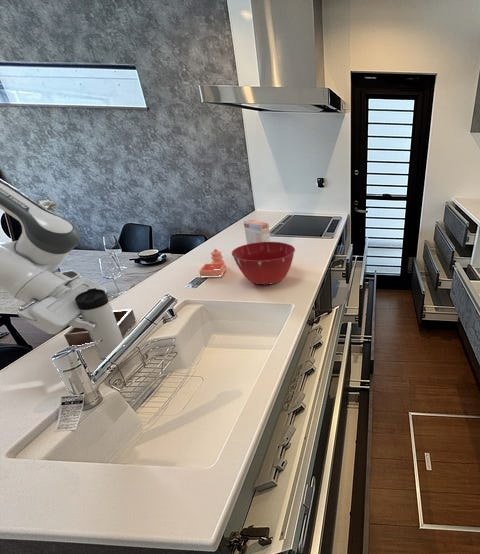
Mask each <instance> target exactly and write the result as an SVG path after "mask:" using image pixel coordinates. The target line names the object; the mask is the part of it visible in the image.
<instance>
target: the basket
mask: <svg viewBox="0 0 480 554" xmlns="http://www.w3.org/2000/svg"><path fill="white" fill-rule="evenodd" d="M112 311H113V313H114V316H115V319H116V321H117V324H118V327H119V329H120V332H121V335H122V337H123V338H124V337H125V336H126V334H127V333H128V332H129V330H130V329H131V328H132V326H133V325H134V324H135V323H136V321H137V319H136V317H135V314H134V311H133V308H129V309H120V310H112ZM80 319H81V321H84V320H83V318H82V317H81V318H80ZM135 320H136V321H135ZM134 322H135V323H134ZM133 323H134V324H133ZM132 324H133V325H132ZM131 325H132V326H131ZM130 327H131V328H130ZM129 328H130V329H129ZM128 329H129V330H128ZM126 332H127V333H126ZM64 339H65V340H66V342H67V344H68V347H69V348H70V346H72V345H82V344H85V343H90V342H93V341H92V339H91V337H90V334H89V332H88V330H86V329H84V328H75V327H72V326H71V328H70V329H69V330H67V332H65V334H64Z"/></svg>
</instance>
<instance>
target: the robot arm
mask: <svg viewBox="0 0 480 554" xmlns="http://www.w3.org/2000/svg"><path fill="white" fill-rule="evenodd" d="M0 210H2V211H3V212H5V213H6V214H7V215H9V216H11V217H12V218H13V219H15V220H17V221H18V222H19V223H20V225H21V226H20V227H21V234H20V236H19V237H18V240H14V241H8V242H7V241H6V242H0V290H1V291H4V292H6V293H8V294H10V296H11V297H12V298H14V299H16V300H18V301H20V302H23V303H24V304H22V305H20V306H18V307H17V315H18V317H20V318H22V319H23V320H25V321H27V322H28V323H29V324H31V325H32V326H34V327H35V328H37V329H39V330H41V331H43V332H44V333H46V334H49V335H58V334H59V333H60V332H61V331H63V330H64V329H65V328H66V327H68V326H70V327H71V328H72V327H75V328H84V329H86V330H88V331H92V330H93V329H94V328H95V327H96V326H97V324H96V323H94V322H92V321H90V322H86V321H81V319H82V318H80V316H81V312H82V311H80V310H79V308H78V305H77V303H76V301H75V298H76V296H77V295H79V294H80V293H82V292H85V291H87V290H88V289H93V288H96V289H101V290H104V291H105V293H106V294H107V292H108V290H107V289H106V287H104V286H103V285H101V284H100V283H99V282H96V281H95V280H92V279H91V278H89V277H86V276H81V273H80V272H78V271H77V270H74V269H70V270H64V271H57V270H58V269H59V268H60V267H61V265H62V264H64V262H65V260H66V259H67V257H68V256H69V255H70V253H71V251H73V250H74V249H75V247H76V246H77V245H78V244H79V243H80V241H81V240H82V239H81V237H82V236H81V235H82V234H81V233H80V231H79V229H78V228H77V227H76V225H74V224H73V222H71V221H70V220H69V219H67V218H65V217H63V216H60V215H58V214H56V213H54V212H52V211H51V210H49V209H47V208H46V207H44V206H43V205H41V204H40V203H39V202H37V201H35V200H34V199H33V198H31V197H29V196H28V195H26V193H23V192H22V191H20V190H19V189H18V188H16V187H15V186H13V185H12V184H11V183H8V182H7V181H5V180H3V179H2V178H0Z"/></svg>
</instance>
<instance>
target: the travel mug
mask: <svg viewBox="0 0 480 554" xmlns="http://www.w3.org/2000/svg"><path fill="white" fill-rule="evenodd" d="M75 301H76V303H77V305H78V308H79V310H80V311H82V312H81V315H80V316H81V319H82V318H83V320H84V321H86V322H90V321H92V322H94V323H96V324H97V326H96V327H95V328H94V329H93V330H92V331H88V332H89V334H90V337H91V339H92V341H93V342H95V341H98V340H103V341H102V342H100V343H98V344H95V345H93V346H94V348H95V350H96V353H97V355H98V357H99V360H100V361H104V360H105V359H106V357H107V356H108V355H109V354H110V353H111V352H112V351H113V350H114V349H115V348H116V347H117V346H118V345H119V344H120V343H121V342H122V341H123V340H124V337H122V335H121V332H120V329H119V327H118V324H117V321H116V319H115V316H114V313H113V311H114V310H113V309H112V305H111V303H110V301H109V298H108V296H107V293H105V291H104V290H101V289H96V288H93V289H88V290H87V291H85V292H82V293H80V294H79V295H77V296H76V298H75ZM104 362H105V361H104Z"/></svg>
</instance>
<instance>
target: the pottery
mask: <svg viewBox="0 0 480 554" xmlns="http://www.w3.org/2000/svg"><path fill="white" fill-rule="evenodd" d="M210 255H211V257H210V258H211V260H212V261H211V263H204V264H203V265H202V266H201V268H200V269H199V276H200V278H201V276H219V275H222V273H223V272H224V270H225V268H226V262H225V261H224V260H223V255H222V251H220V250H218V249H217V248H214V249H213V250H212V251H211V252H210ZM214 269H220V270H214Z"/></svg>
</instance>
